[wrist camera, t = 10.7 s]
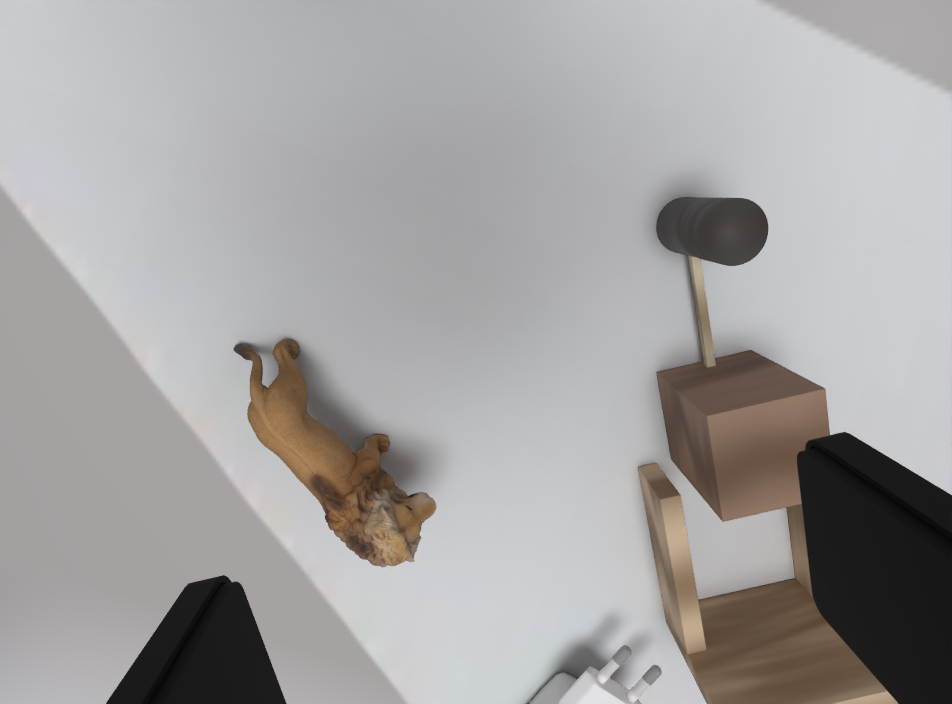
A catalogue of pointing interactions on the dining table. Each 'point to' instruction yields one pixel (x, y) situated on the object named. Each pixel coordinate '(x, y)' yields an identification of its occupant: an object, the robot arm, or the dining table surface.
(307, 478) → the lion figurine
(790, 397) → the wooden lever toy
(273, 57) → the dining table surface
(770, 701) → the wooden stand
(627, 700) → the power adapter
